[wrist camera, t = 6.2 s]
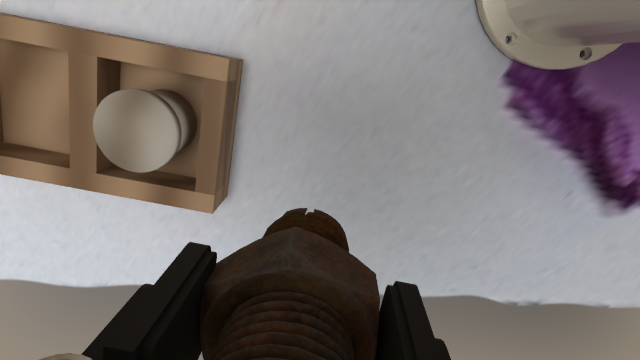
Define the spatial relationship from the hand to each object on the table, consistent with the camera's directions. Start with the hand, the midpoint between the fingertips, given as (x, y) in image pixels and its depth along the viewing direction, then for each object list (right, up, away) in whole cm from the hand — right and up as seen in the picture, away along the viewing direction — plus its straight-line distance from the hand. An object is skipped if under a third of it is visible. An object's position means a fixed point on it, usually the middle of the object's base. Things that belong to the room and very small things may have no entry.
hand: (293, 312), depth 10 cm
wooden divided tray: (-16, +9, +21) cm, 28 cm away
